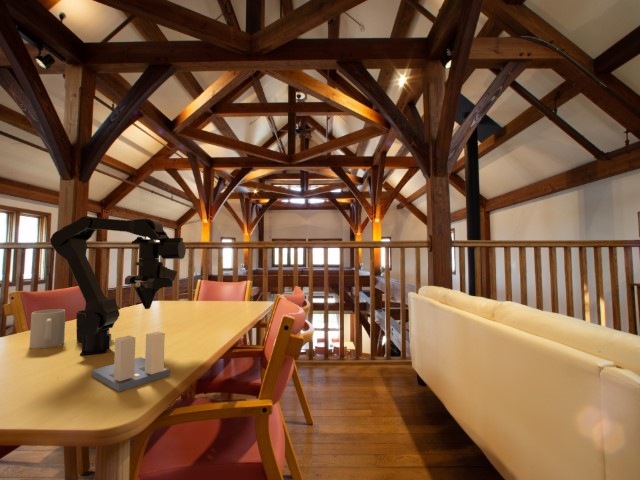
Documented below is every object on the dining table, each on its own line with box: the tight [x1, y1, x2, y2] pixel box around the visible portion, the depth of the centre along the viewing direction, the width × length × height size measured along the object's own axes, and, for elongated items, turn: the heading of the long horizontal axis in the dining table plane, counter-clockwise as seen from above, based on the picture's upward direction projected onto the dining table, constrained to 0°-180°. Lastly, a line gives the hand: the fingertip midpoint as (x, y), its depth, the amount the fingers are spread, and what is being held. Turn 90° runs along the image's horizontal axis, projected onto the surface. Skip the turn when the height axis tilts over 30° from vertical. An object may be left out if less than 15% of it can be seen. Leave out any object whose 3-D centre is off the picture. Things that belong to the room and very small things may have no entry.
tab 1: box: [113, 335, 136, 381], centre depth 70 cm, size 3×3×9 cm
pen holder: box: [75, 309, 86, 344], centre depth 106 cm, size 9×9×10 cm
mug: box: [29, 308, 66, 350], centre depth 98 cm, size 12×8×11 cm
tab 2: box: [144, 330, 166, 374], centre depth 74 cm, size 3×3×9 cm
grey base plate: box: [91, 356, 171, 393], centre depth 75 cm, size 15×12×2 cm
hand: (147, 308), depth 95 cm, fingers closed
